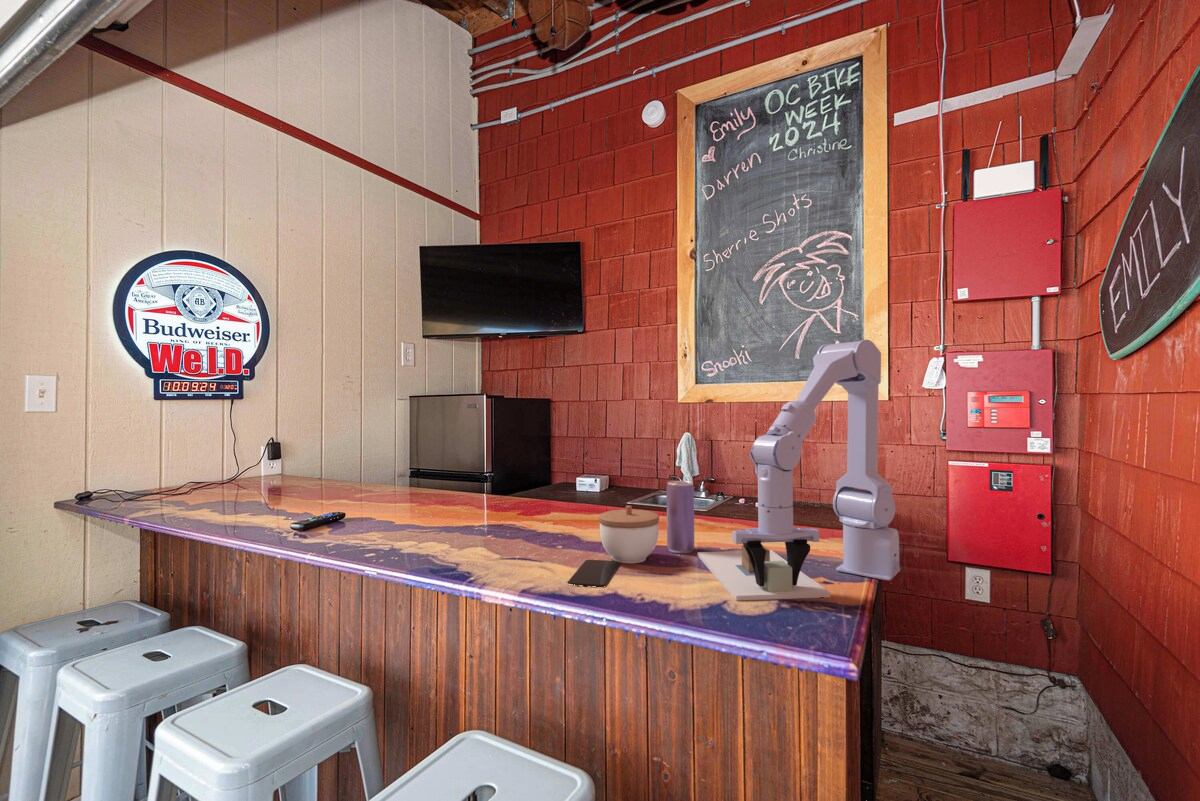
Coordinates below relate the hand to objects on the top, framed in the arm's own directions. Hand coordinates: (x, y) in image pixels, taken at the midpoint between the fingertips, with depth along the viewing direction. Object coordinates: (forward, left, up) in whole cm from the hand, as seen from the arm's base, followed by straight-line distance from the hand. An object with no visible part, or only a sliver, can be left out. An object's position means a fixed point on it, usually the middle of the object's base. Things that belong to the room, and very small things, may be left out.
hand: (776, 584), depth 94 cm
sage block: (0, 0, -1) cm, 1 cm away
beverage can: (+27, -12, -2) cm, 30 cm away
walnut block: (+7, -7, 0) cm, 10 cm away
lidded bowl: (+32, 0, -2) cm, 32 cm away
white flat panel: (+7, -7, -1) cm, 10 cm away
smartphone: (+31, +12, -2) cm, 33 cm away
